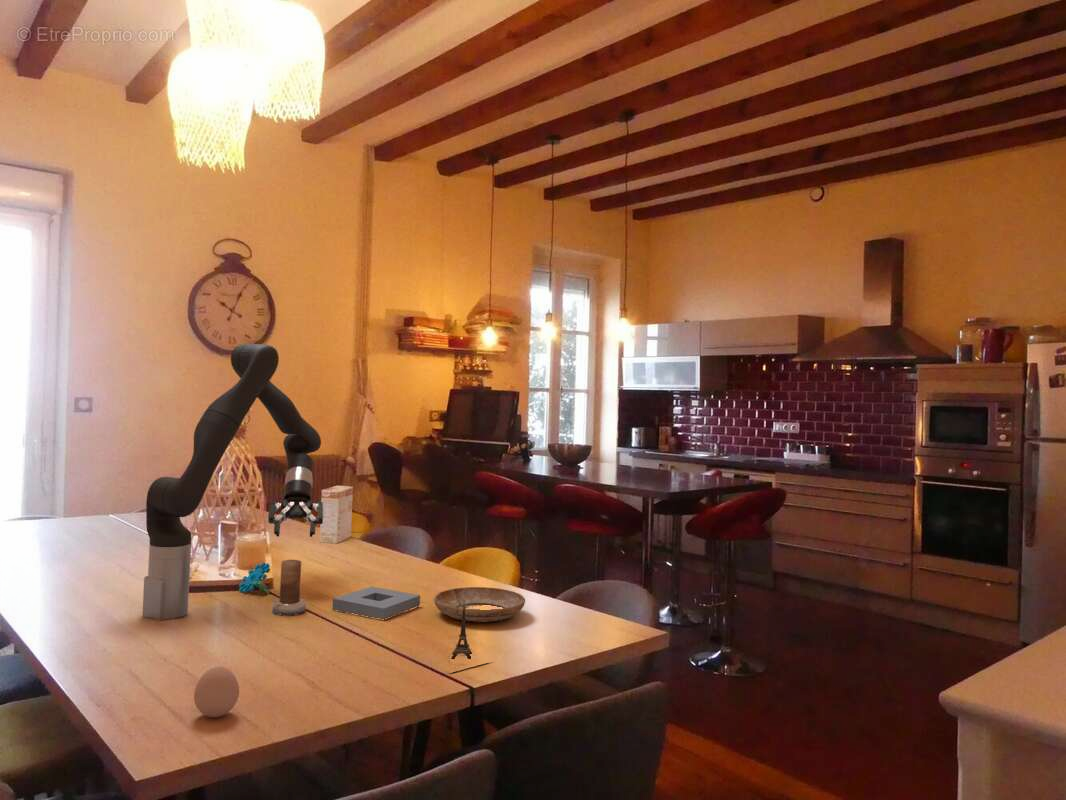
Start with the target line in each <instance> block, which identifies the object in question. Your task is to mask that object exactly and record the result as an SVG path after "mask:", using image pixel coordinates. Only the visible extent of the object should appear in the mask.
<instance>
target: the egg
mask: <svg viewBox="0 0 1066 800" xmlns="http://www.w3.org/2000/svg"><path fill="white" fill-rule="evenodd" d="M193 693H194V694H193V699H194V700H193V701H194V704H195V708H196V709H197V710H198V711H199V712H200V713H201V714H203V715H204V716H206V717H208V718H221V717H223V716H225V715H226V714H228V713H229V712H231V710H232V709H233V708H234V707H235V705H236V704H237V702H238V699H239V697H240V685H239V681H238V679H237V677H236V675H235V674H234V672H232V670H230V669H229V668H227V667H224V666H214V667H211V668H210V669H208V670H206V671H205V672H204V673H203V674H202V676H201V677H199V680H198V682H197V684H196V686H195V688H194V692H193Z"/></svg>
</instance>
